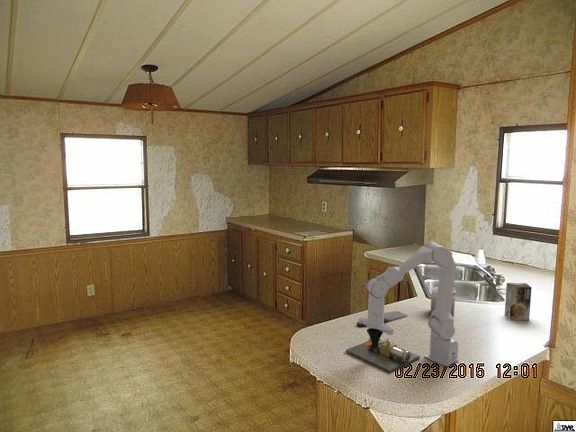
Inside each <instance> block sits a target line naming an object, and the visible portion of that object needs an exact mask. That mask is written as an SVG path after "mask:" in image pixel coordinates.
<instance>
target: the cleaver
mask: <svg viewBox="0 0 576 432" xmlns="http://www.w3.org/2000/svg"><path fill="white" fill-rule="evenodd" d="M407 317H408V315H407V314H406V313H403V312H401V311H399V310H396V311H388V312H384V324H386V323H389V322H392V321H396V320H401V319H404V318H407ZM356 325H357V327H360V328H367V325H364V324H359V321H357V322H356Z"/></svg>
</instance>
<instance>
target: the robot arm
mask: <svg viewBox="0 0 576 432" xmlns="http://www.w3.org/2000/svg"><path fill="white" fill-rule="evenodd" d="M422 264H431V265H432V264H435V265H436V266H437V267H438V268H439V273H438V274H439V275H438V283H437V287H438V290H437V299H436V308H435V310H434V311H432V314H431V316H430V317H429V319H428V322H427V324H428V325H427V326H428V328H429V329H430V338H429V339H430V341H429V353H428V354H426V355H424V358H425V359H428V360H430V361H433V362H434V363H438V364H440V365H441V366H445V367H449V366H451V365H453V364H454V363H456V362H458V361H459V359H458V354H459V343H458V341H456V340H455V339H453V337H454V336H455V334H456V333H455V332H456V328H455V324H454V323H455V321H454V318H453V317H454V316H452V315H451V305H452V296H453V288H454V289H455V279H456V271H457V270H456V269H457V265H456V262H455V259H454V258H453V251H451V250H449V249H448V247H446V246H442V245H440V244H438V243H437V242H433V241H429V242H427V243H426V244H425V245H423V246H421V247H419V249H418V250H417V251H416V252H415V253H414V254H412V255H411V256H410V257H408V258H407V259H406V260H405V261H404V262H402V263H401V264H400V265H398V266H388V267H387V268H386V271H384V272H383V273H380V275H377V276H376V277H375V278H371V279H369V281H368V283H367V284H366V287H365V288H366V290H367V291H368V299H367V301H368V302H367V305H368V306H367V318H365V317H364V316H363V317H360V318H358V322H359V324H364V325H367V327H366V328H367V329H366V332H367V334H368V336H369V338H370V339H371V342H372V348H374V349H375V348H377V347H378V342H379V340H381V337H382V335H383V334H387V335H388V336H392V335H394V328H393V327H390V326H389V325H388V324H386V323H384V313H385V296H386V295H387V294H388V291H389V290H391V288H393V287H394V286H396V285H397V284H398V283H399V282H401V281H403V279H404V275H406V274H407V273H409V272H410V271H412V270H414V269H415V268H417V267H418V266H420V265H422Z"/></svg>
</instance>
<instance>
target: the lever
mask: <svg viewBox="0 0 576 432" xmlns="http://www.w3.org/2000/svg"><path fill="white" fill-rule="evenodd" d="M391 342H392V338H386V339H384V340H382V341H379V342H378V345H381V344H385V343H391ZM392 343H393V342H392ZM365 347H366V348H371V347H372V342H371V343H366V344H365Z"/></svg>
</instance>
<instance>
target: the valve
mask: <svg viewBox="0 0 576 432" xmlns="http://www.w3.org/2000/svg"><path fill="white" fill-rule="evenodd" d="M379 341H383V340H382V339H380V340H379ZM366 343H371V339H370V337H369V338H368V340H367V341H365V342H362V343H359V344H357V345H354V346H352V347H349V348H347V349H346V350H345V353H346V352H347V354H348V353H349V355H350V354H351V356H353V357H355V358H356V359H359V360H360V361H362V362H366V363H367V364H369V365H371V366H374V367H376V368H378V369H379V370H382V371H384V372H386V373H387V374H391V373H393V372H396V371H398V370H400V369H402V368H404V367H406V366H408V365H410V364H412V363H414V362H416V361H418V360H420V359H421V356H420V355H418V354H417V353H416V354H415V353H413V352H411V351H408V350H406V349H404V348H401V347H398V344H396V343H394V342H391V343H385V344H381V345H378V347H377V348H375V349H374V348H372V347H371V348H366V347H365V344H366Z"/></svg>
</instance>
